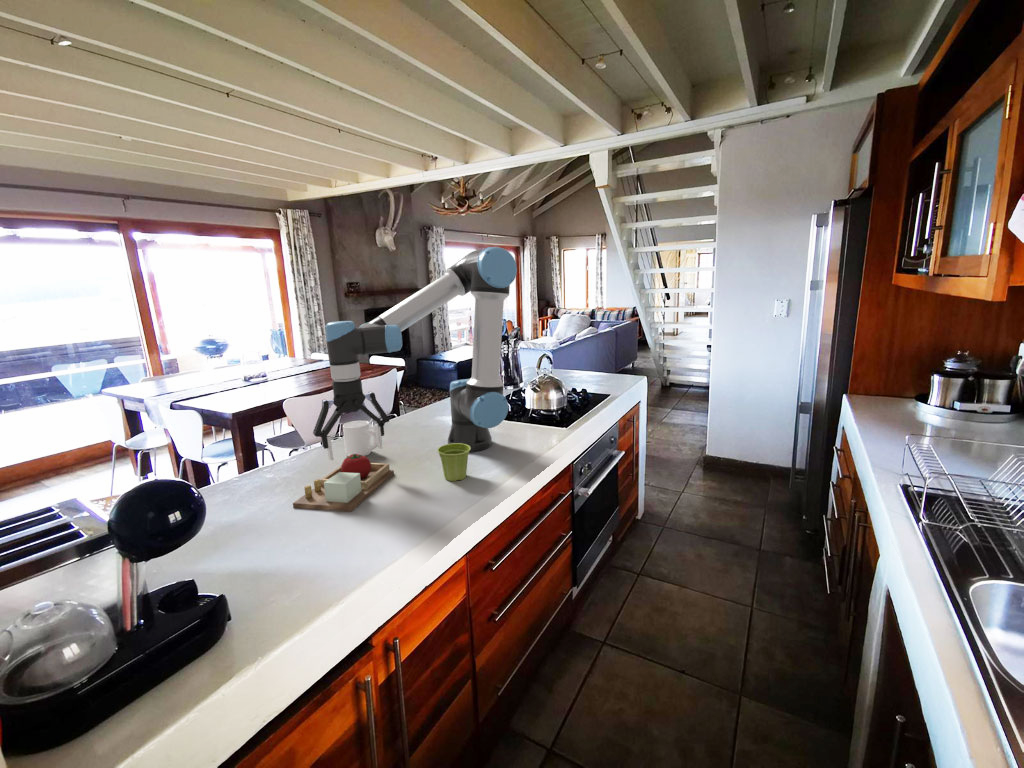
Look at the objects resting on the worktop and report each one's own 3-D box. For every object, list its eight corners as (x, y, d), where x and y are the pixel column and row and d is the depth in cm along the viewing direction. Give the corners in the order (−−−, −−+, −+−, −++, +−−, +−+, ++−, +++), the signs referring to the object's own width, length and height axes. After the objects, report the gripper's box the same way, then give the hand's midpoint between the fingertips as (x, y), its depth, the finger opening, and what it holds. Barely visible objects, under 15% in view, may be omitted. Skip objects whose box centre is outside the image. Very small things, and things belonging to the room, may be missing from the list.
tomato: (376, 477, 133) (374, 453, 131) (350, 486, 127) (347, 461, 126) (362, 470, 138) (359, 447, 137) (336, 478, 133) (333, 454, 131)
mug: (386, 451, 158) (383, 422, 156) (371, 460, 150) (368, 429, 148) (356, 448, 162) (353, 419, 160) (340, 456, 154) (337, 426, 152)
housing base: (394, 474, 138) (392, 460, 137) (351, 511, 115) (349, 495, 114) (344, 471, 141) (343, 458, 140) (293, 507, 118) (291, 492, 117)
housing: (361, 491, 124) (359, 473, 123) (347, 502, 117) (345, 484, 116) (341, 489, 125) (339, 472, 124) (325, 501, 118) (323, 482, 117)
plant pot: (477, 472, 137) (475, 444, 135) (463, 485, 128) (461, 455, 127) (448, 469, 140) (446, 442, 138) (433, 482, 131) (431, 452, 130)
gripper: (386, 370, 137) (394, 439, 141) (294, 384, 123) (306, 460, 128) (395, 373, 131) (403, 446, 135) (299, 388, 117) (311, 468, 122)
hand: (356, 453), depth 131 cm, fingers open, 13 cm apart
